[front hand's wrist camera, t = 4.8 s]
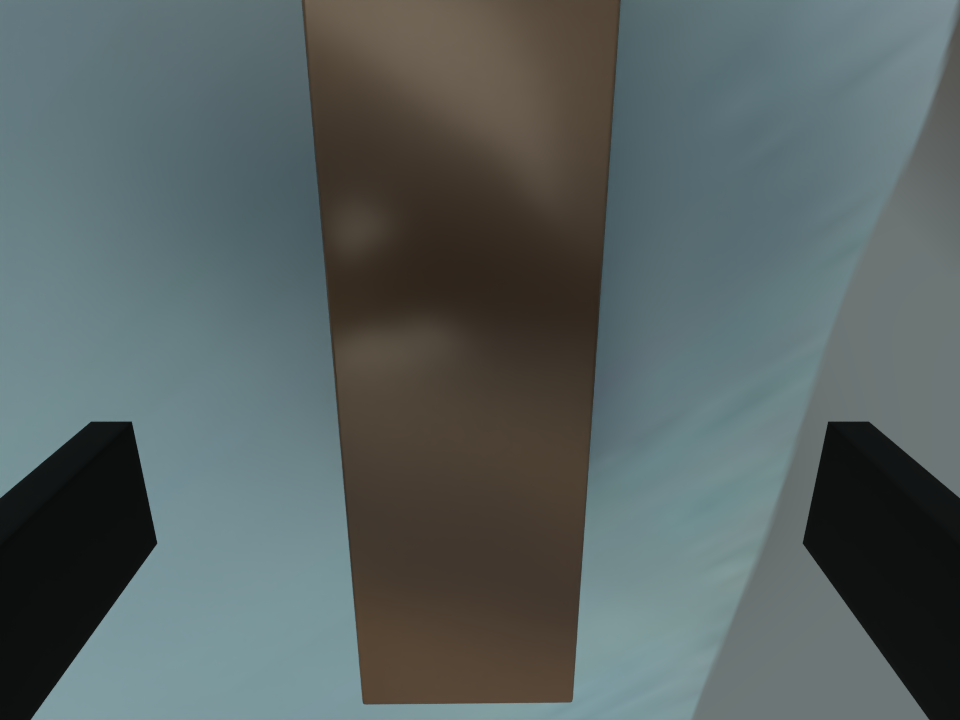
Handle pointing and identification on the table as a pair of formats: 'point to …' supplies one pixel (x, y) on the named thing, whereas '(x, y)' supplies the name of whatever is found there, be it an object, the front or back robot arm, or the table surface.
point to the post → (464, 327)
